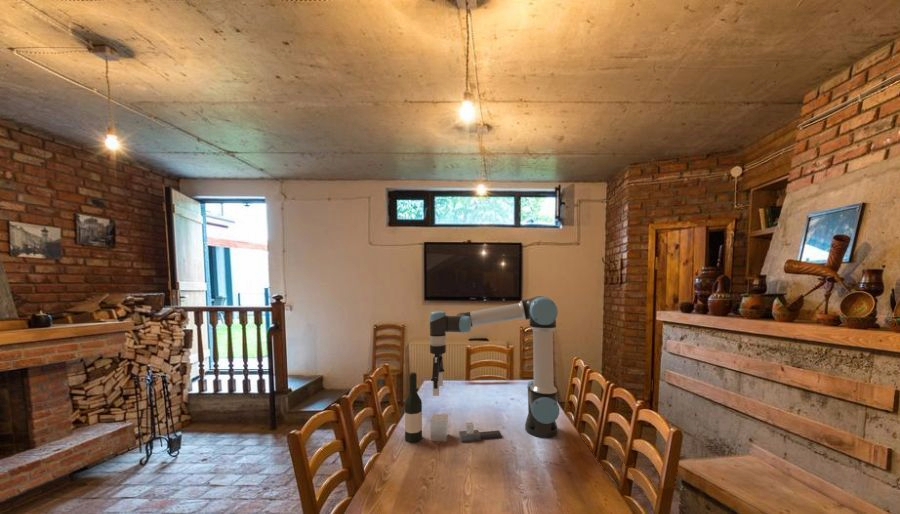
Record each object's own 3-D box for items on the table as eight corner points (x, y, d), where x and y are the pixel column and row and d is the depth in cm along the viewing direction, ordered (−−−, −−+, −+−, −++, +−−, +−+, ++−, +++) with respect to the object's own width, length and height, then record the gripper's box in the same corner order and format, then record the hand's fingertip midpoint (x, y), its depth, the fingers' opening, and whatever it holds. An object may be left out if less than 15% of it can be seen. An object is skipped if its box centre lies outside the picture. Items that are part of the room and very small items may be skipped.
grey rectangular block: (448, 434, 155) (447, 414, 156) (446, 441, 148) (446, 420, 149) (433, 433, 156) (433, 414, 157) (430, 440, 149) (430, 420, 150)
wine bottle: (419, 443, 146) (418, 375, 149) (401, 442, 148) (401, 374, 150) (424, 435, 155) (424, 370, 157) (407, 433, 156) (407, 369, 159)
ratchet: (498, 433, 155) (498, 419, 156) (501, 438, 150) (501, 423, 150) (459, 436, 152) (458, 422, 153) (461, 442, 147) (460, 427, 148)
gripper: (434, 339, 168) (434, 382, 166) (425, 349, 143) (425, 399, 141) (448, 339, 167) (448, 382, 165) (442, 350, 142) (442, 400, 140)
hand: (438, 390), depth 153 cm, fingers open, 13 cm apart
